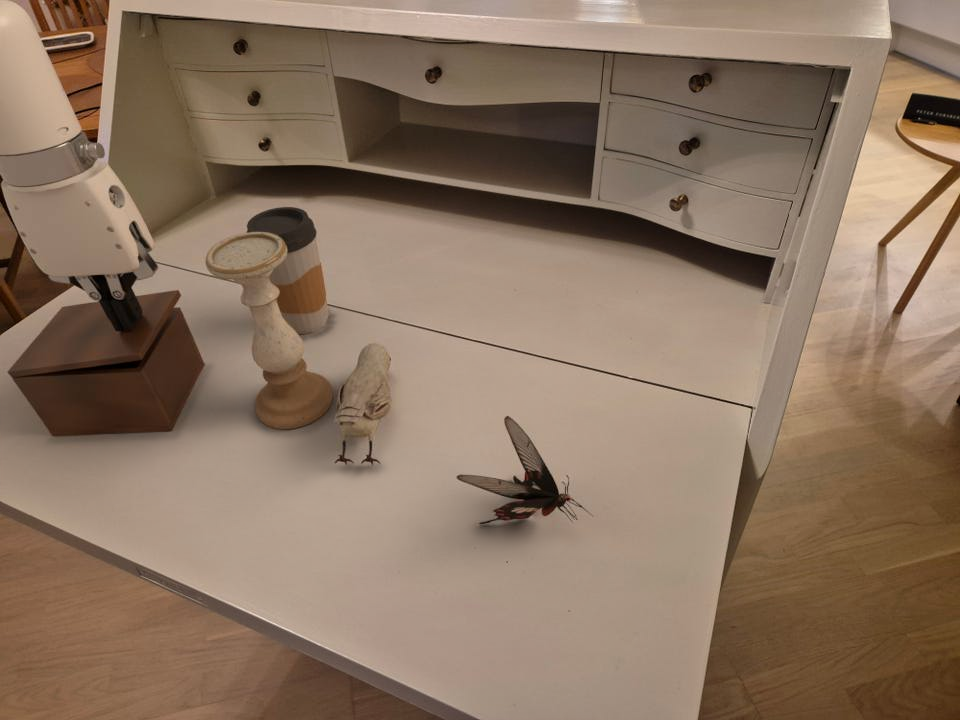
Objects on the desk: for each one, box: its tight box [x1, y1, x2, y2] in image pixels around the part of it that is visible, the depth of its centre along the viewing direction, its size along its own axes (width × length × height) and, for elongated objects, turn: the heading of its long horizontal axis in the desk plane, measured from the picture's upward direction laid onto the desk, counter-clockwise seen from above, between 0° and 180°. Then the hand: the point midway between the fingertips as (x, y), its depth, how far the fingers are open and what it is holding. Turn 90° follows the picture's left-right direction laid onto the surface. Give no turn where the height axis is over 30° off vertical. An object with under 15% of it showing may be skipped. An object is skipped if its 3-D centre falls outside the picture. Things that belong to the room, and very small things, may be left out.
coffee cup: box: [246, 206, 330, 335], centre depth 81 cm, size 8×8×15 cm
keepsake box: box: [11, 306, 205, 437], centre depth 73 cm, size 14×12×9 cm
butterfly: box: [456, 415, 595, 525], centre depth 58 cm, size 11×8×10 cm
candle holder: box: [205, 232, 334, 430], centre depth 67 cm, size 9×9×20 cm
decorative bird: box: [332, 342, 392, 466], centre depth 69 cm, size 5×16×8 cm, turn 177°
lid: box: [6, 289, 182, 378], centre depth 69 cm, size 14×12×1 cm
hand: (130, 323), depth 68 cm, fingers closed
